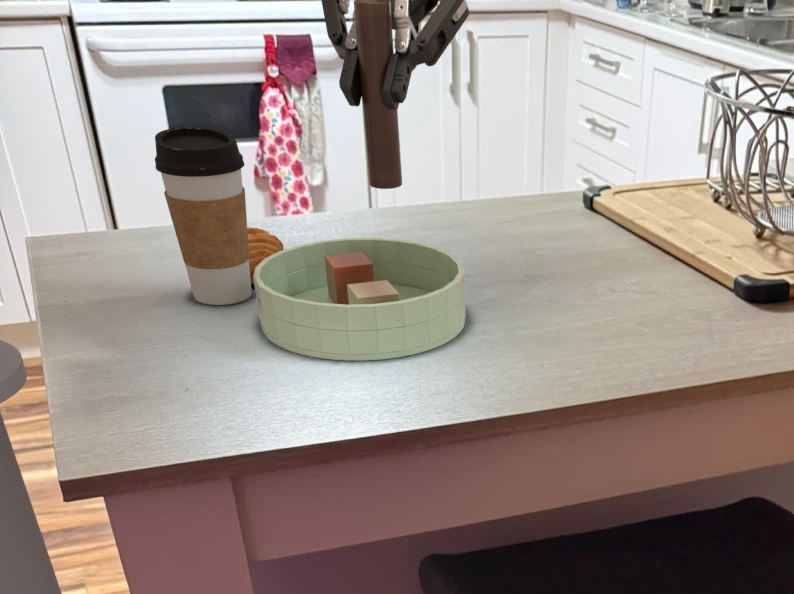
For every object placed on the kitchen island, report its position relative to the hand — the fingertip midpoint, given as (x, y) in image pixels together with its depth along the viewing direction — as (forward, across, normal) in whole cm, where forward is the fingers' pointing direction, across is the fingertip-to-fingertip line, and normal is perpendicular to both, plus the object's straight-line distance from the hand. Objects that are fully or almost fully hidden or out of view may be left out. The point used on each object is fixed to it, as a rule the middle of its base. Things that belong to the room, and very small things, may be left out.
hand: (370, 100), depth 89 cm
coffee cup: (+12, -20, +17) cm, 29 cm away
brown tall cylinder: (+4, 0, +6) cm, 7 cm away
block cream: (+15, -1, +13) cm, 19 cm away
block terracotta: (+10, -6, +18) cm, 21 cm away
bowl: (+13, -4, +16) cm, 20 cm away
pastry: (+6, -20, +22) cm, 31 cm away
